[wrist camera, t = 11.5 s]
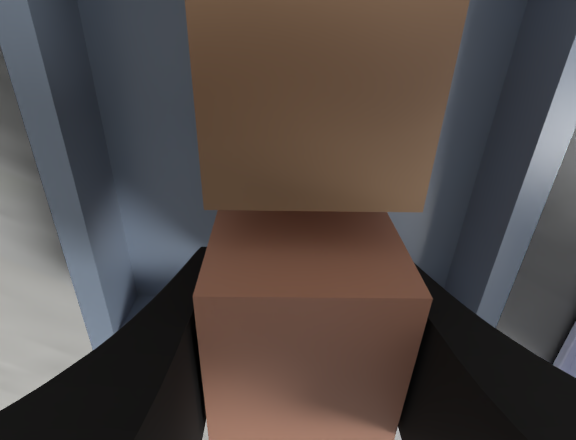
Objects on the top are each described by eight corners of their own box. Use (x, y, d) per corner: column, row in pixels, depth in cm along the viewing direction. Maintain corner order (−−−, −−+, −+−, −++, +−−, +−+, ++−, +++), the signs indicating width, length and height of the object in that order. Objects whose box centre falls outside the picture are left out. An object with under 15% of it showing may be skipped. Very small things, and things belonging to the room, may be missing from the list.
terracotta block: (354, 291, 13) (393, 440, 8) (232, 290, 13) (209, 441, 8) (370, 180, 11) (432, 298, 6) (227, 177, 11) (192, 296, 6)
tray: (573, -111, 9) (687, -155, 7) (449, 299, 16) (483, 359, 13) (29, -136, 9) (-73, -195, 6) (126, 297, 15) (95, 358, 13)
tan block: (367, 133, 11) (422, 212, 7) (232, 130, 11) (203, 210, 7) (387, -27, 10) (481, -53, 5) (225, -32, 9) (179, -63, 5)
